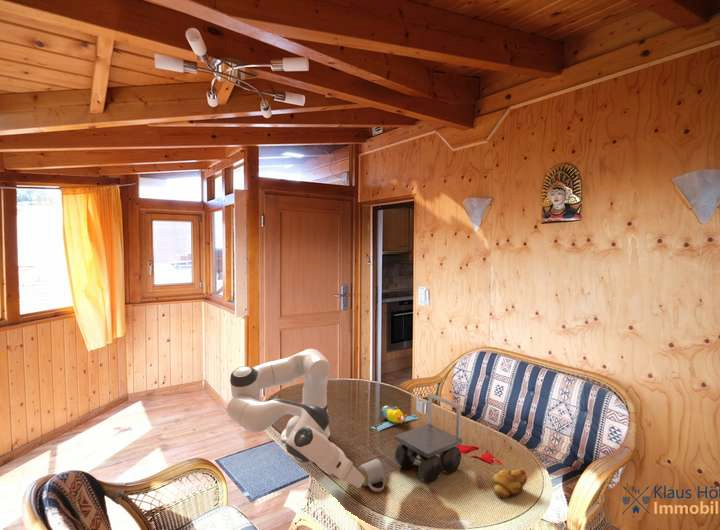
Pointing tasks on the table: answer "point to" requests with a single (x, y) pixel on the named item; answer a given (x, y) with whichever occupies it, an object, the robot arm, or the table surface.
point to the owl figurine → (393, 417)
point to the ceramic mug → (373, 474)
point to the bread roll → (509, 482)
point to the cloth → (467, 449)
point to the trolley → (430, 446)
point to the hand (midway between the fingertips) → (354, 477)
